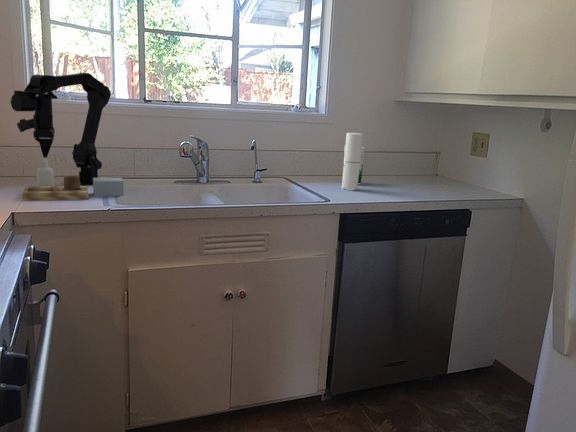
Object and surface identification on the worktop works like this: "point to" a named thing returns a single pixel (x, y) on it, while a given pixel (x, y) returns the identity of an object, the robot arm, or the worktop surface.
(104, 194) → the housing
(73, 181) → the walnut peg
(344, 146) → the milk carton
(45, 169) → the eye dropper bottle
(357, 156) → the cylindrical container
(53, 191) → the socket board
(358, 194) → the worktop surface
